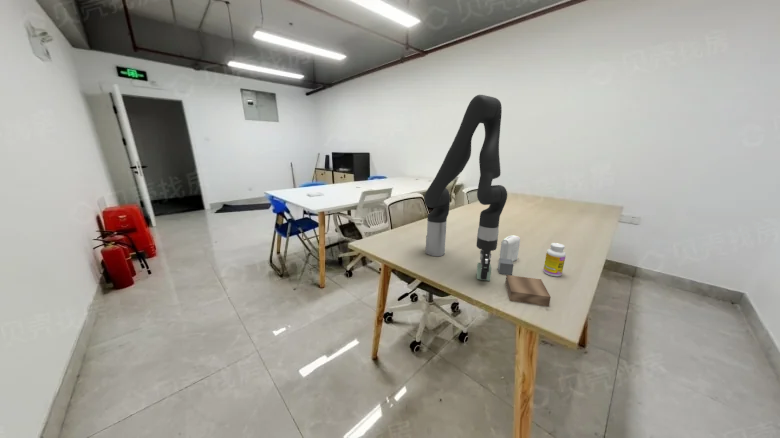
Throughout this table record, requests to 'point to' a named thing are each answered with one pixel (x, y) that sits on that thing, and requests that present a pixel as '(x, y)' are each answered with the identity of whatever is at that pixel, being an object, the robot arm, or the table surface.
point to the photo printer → (510, 248)
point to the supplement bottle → (554, 260)
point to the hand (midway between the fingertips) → (483, 275)
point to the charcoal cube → (505, 266)
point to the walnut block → (527, 290)
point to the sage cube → (480, 272)
